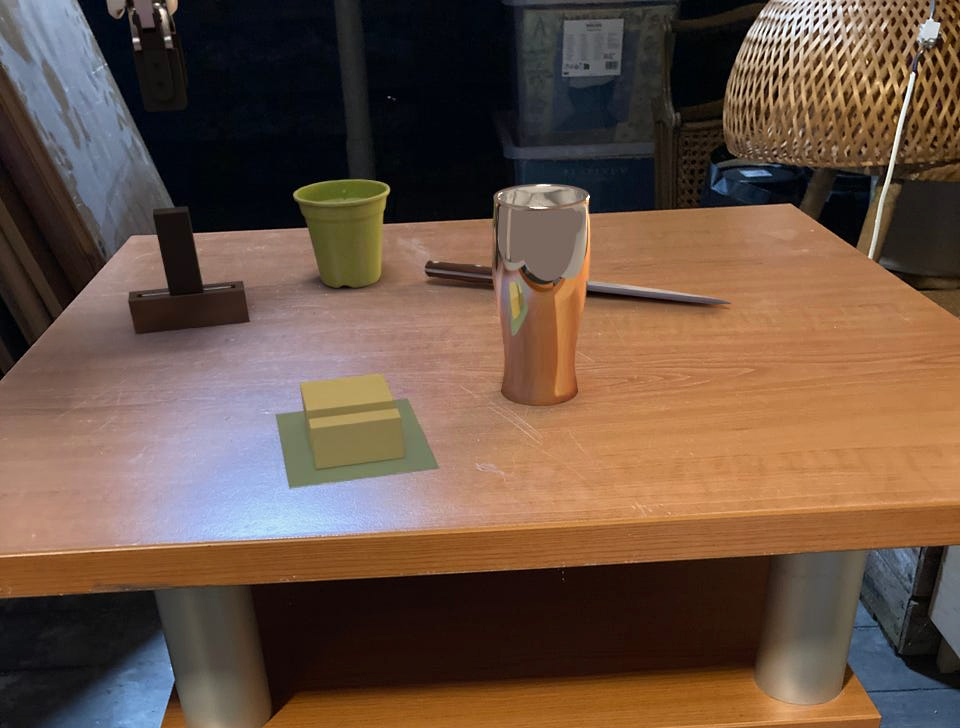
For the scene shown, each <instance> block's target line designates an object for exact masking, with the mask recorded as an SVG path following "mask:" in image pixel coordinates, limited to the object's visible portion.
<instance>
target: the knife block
mask: <svg viewBox="0 0 960 728" xmlns="http://www.w3.org/2000/svg"><path fill="white" fill-rule="evenodd" d="M222 286H231V288H229V289H219V290H209V291H203V292H198V293H188V294H178V295H170V294H169V295H159V296H149V297H142V294H152V293H162V292H169V289H168V287H166V288H165V287H164V288H155V289H145V290H135V291H129V292H128V300H127V304H128V307H129V312H130V316H131V319H132V324H133V328H134V332H135V334H144V333H153V332H163V331H172V330H183V329H191V328H201V327H211V326H219V325H221V326H222V325H229V324H239V323H249V322H250V321H251V320H250V314H249V308H248V302H247V296H246V291H245V284H244V281H243V280H236V281H235V280H234V281H226V282H216V283H205V284H204V283H203V288H212V287H222Z"/></svg>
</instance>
